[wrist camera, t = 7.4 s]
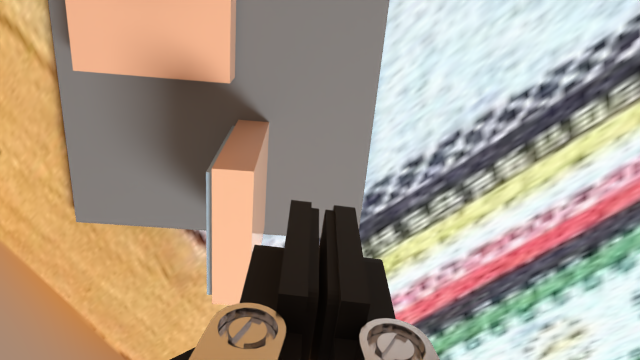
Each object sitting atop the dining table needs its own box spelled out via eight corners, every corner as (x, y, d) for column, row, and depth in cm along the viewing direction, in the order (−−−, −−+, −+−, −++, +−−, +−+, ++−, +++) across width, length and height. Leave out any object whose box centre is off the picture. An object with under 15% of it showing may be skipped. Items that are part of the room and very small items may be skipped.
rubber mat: (396, -68, 24) (398, -69, 24) (356, 235, 31) (357, 240, 30) (41, -103, 23) (34, -106, 23) (80, 217, 30) (76, 222, 29)
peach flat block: (269, 122, 27) (254, 171, 20) (264, 227, 30) (249, 305, 22) (233, 119, 27) (204, 168, 20) (231, 225, 30) (205, 303, 22)
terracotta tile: (231, -68, 22) (55, -85, 21) (229, 83, 24) (73, 70, 24) (238, -63, 23) (76, -79, 23) (235, 76, 26) (90, 64, 26)
